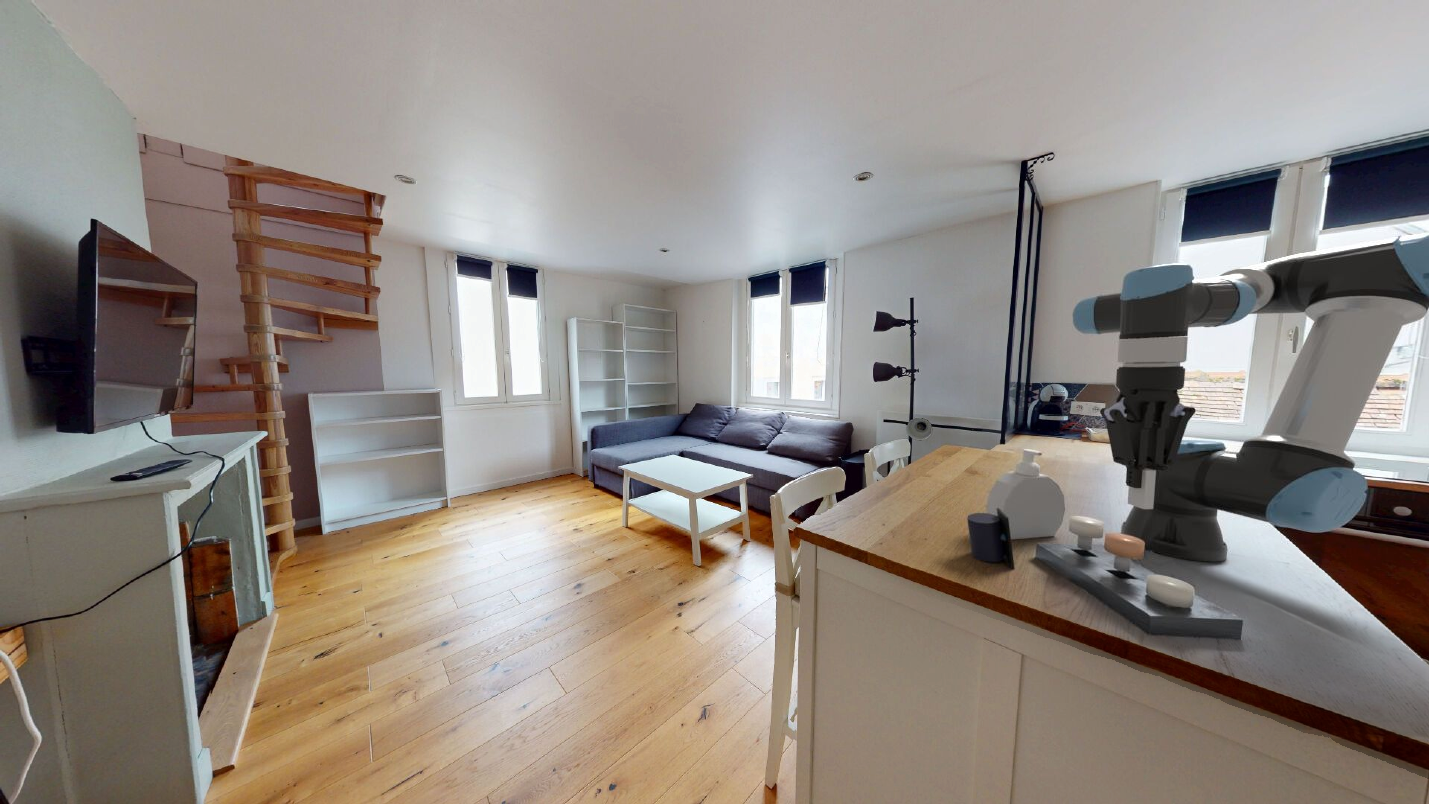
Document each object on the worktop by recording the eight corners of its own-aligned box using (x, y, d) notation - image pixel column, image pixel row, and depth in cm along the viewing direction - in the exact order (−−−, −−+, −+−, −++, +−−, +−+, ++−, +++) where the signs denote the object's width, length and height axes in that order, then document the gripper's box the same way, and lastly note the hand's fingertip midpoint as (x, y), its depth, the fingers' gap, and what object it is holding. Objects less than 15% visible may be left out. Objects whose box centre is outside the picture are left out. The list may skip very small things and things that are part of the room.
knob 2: (1168, 607, 64) (1171, 575, 64) (1201, 627, 59) (1204, 592, 59) (1135, 606, 65) (1138, 574, 64) (1165, 625, 60) (1168, 590, 59)
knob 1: (1087, 542, 80) (1089, 516, 79) (1108, 554, 75) (1111, 525, 74) (1061, 542, 80) (1063, 515, 80) (1080, 553, 75) (1083, 525, 75)
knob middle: (1124, 562, 72) (1126, 533, 71) (1150, 576, 67) (1153, 545, 67) (1095, 561, 72) (1097, 532, 72) (1119, 575, 68) (1121, 544, 67)
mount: (1098, 558, 81) (1100, 544, 81) (1241, 639, 58) (1243, 619, 57) (1035, 556, 83) (1036, 542, 82) (1149, 635, 59) (1150, 615, 58)
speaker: (1016, 557, 82) (1012, 507, 81) (1014, 569, 78) (1010, 518, 77) (972, 550, 87) (968, 503, 86) (968, 561, 83) (964, 512, 82)
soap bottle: (1003, 541, 90) (1008, 454, 88) (984, 531, 95) (988, 449, 93) (1065, 536, 92) (1071, 451, 90) (1043, 527, 97) (1049, 446, 95)
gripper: (1167, 363, 68) (1157, 497, 71) (1087, 366, 69) (1080, 499, 71) (1220, 363, 61) (1207, 513, 63) (1130, 366, 61) (1121, 515, 64)
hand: (1140, 506), depth 67 cm, fingers closed
